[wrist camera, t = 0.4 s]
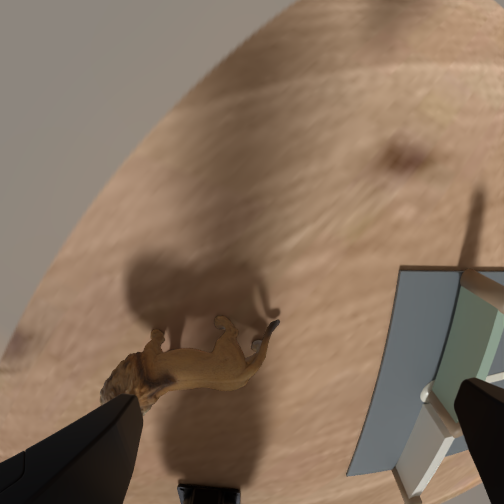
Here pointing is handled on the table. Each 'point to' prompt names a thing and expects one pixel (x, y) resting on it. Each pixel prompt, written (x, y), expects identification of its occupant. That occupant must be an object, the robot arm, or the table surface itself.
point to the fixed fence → (422, 454)
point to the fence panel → (468, 343)
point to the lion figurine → (185, 367)
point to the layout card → (413, 366)
